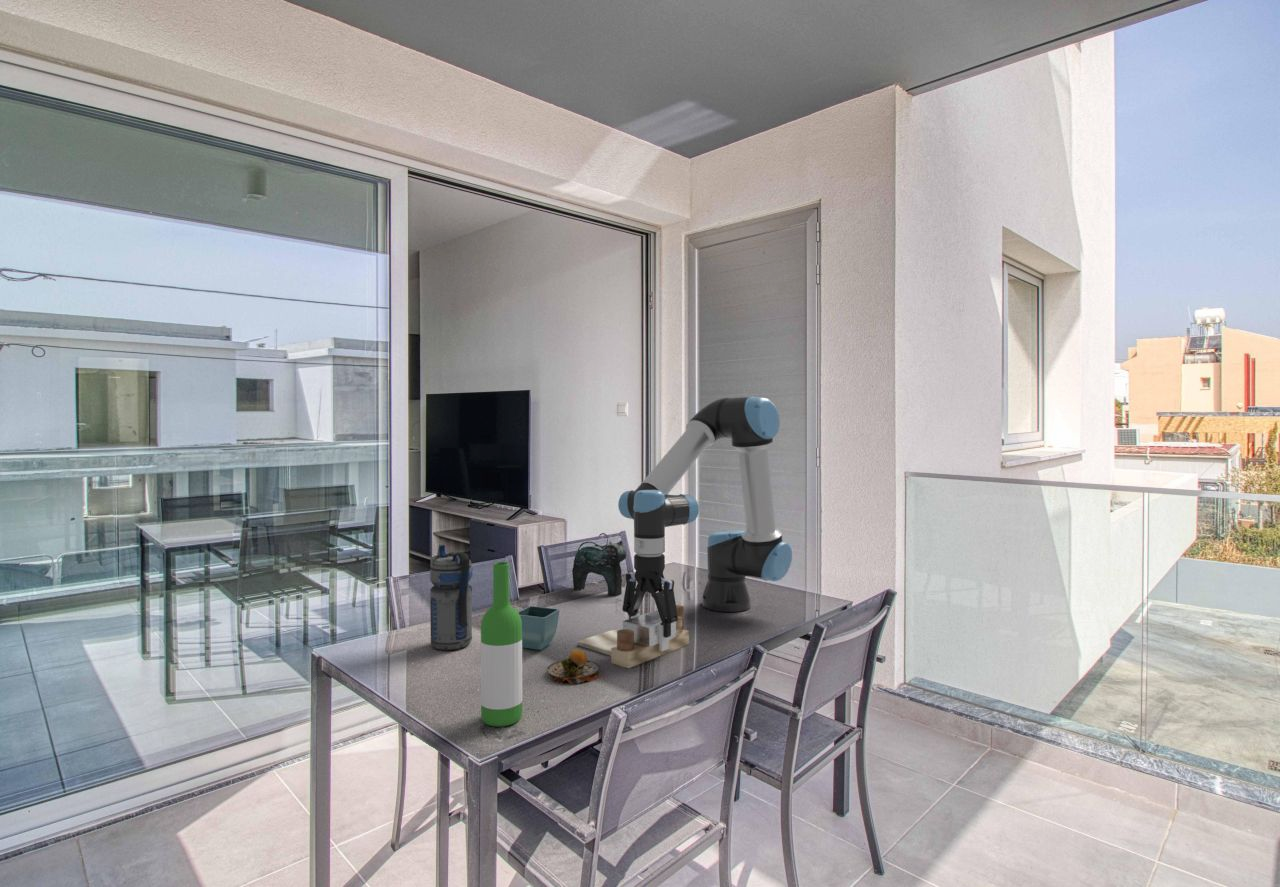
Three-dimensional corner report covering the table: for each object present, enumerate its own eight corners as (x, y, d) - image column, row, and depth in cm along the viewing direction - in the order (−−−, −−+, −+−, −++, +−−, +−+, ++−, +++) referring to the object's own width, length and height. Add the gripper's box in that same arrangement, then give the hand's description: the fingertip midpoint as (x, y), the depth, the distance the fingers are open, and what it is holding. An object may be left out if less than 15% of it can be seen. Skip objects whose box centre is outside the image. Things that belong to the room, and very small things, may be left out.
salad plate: (573, 662, 161) (573, 631, 161) (610, 674, 154) (610, 641, 154) (535, 677, 152) (535, 644, 152) (572, 690, 145) (572, 655, 144)
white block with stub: (649, 629, 173) (649, 607, 173) (675, 636, 167) (675, 613, 167) (622, 639, 165) (622, 616, 165) (649, 647, 160) (649, 623, 160)
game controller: (627, 594, 225) (627, 534, 224) (616, 598, 219) (616, 536, 219) (579, 586, 235) (579, 529, 235) (568, 590, 230) (568, 531, 229)
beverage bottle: (448, 657, 164) (447, 554, 163) (421, 644, 173) (421, 547, 172) (484, 647, 171) (484, 548, 170) (457, 635, 180) (457, 542, 180)
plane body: (672, 639, 178) (672, 603, 177) (689, 644, 174) (689, 607, 174) (611, 662, 160) (611, 622, 160) (628, 668, 157) (628, 627, 156)
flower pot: (560, 643, 175) (560, 608, 174) (544, 654, 166) (544, 617, 166) (529, 639, 178) (529, 605, 177) (512, 650, 169) (512, 614, 169)
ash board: (615, 632, 183) (615, 628, 183) (649, 642, 176) (649, 638, 176) (577, 645, 173) (577, 641, 173) (611, 655, 165) (611, 651, 165)
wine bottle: (497, 732, 124) (496, 569, 123) (472, 720, 129) (471, 563, 128) (530, 719, 130) (530, 563, 129) (505, 707, 135) (505, 557, 134)
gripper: (607, 550, 170) (607, 640, 171) (673, 562, 156) (673, 659, 157) (627, 546, 175) (627, 633, 176) (693, 557, 161) (693, 651, 162)
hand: (649, 645), depth 166 cm, fingers closed on white block with stub, 8 cm apart
